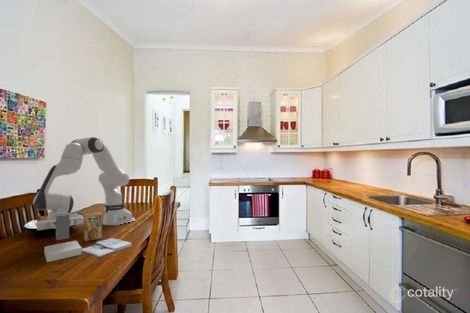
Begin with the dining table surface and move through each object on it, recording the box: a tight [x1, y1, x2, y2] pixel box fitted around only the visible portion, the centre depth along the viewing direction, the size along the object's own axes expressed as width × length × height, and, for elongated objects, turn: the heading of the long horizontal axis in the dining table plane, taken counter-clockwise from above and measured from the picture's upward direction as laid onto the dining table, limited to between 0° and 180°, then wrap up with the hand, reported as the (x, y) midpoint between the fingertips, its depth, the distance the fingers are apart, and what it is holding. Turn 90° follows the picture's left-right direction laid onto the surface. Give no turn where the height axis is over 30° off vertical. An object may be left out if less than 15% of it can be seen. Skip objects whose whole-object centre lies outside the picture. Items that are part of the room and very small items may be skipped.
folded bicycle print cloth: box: [81, 237, 133, 258], centre depth 134 cm, size 19×20×2 cm
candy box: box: [84, 212, 103, 242], centre depth 147 cm, size 9×4×15 cm, turn 119°
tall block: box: [55, 213, 70, 241], centre depth 124 cm, size 5×5×12 cm
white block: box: [43, 240, 82, 263], centre depth 125 cm, size 14×14×4 cm
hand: (62, 225), depth 124 cm, fingers closed on tall block, 5 cm apart
